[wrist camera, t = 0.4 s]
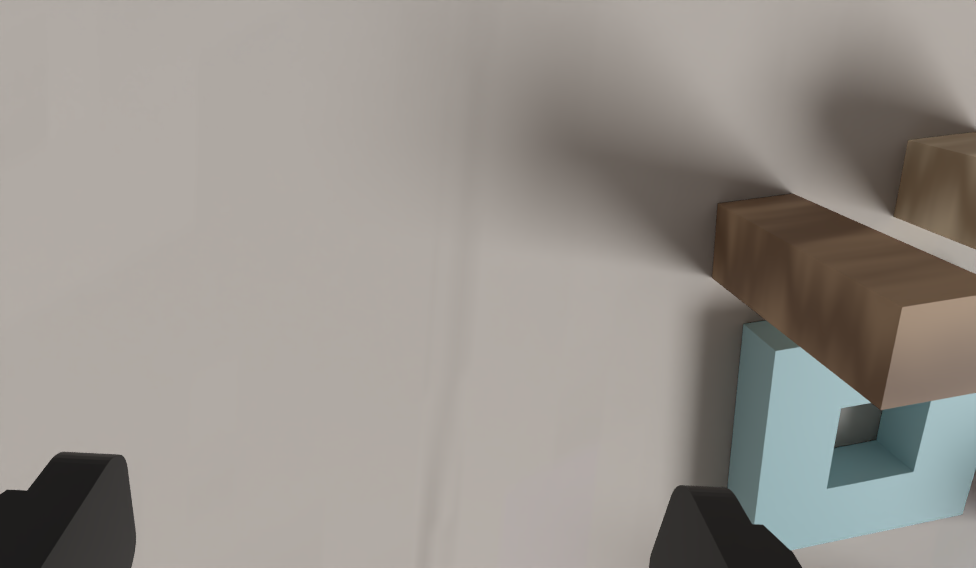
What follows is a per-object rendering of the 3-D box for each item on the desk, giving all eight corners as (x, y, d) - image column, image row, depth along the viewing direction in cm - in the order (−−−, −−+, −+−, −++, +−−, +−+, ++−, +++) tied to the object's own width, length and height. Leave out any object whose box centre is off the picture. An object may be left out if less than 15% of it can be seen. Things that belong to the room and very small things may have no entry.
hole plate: (743, 323, 35) (775, 351, 32) (973, 287, 37) (1022, 310, 34) (724, 521, 40) (749, 558, 38) (923, 481, 42) (962, 514, 40)
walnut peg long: (717, 203, 32) (902, 307, 21) (792, 193, 32) (1011, 289, 21) (712, 277, 33) (880, 410, 22) (783, 267, 34) (982, 391, 23)
